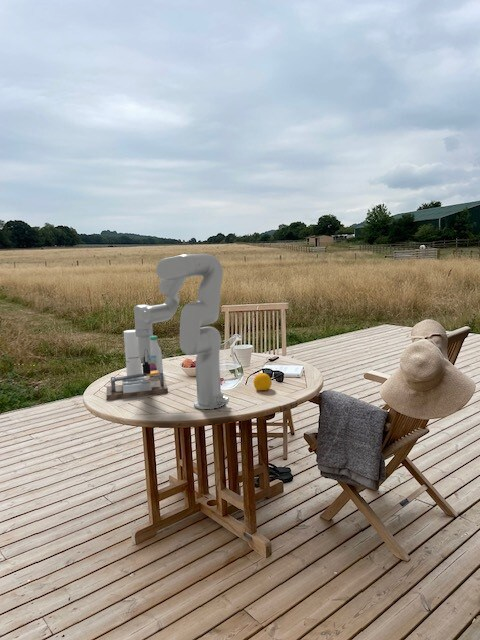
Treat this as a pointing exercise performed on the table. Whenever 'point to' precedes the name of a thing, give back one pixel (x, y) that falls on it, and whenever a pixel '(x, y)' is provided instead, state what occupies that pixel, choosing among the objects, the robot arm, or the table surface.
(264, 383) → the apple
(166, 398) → the table surface
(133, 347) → the cylindrical container
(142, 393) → the mounting board
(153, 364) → the milk bottle
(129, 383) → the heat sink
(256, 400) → the table surface
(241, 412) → the table surface
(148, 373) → the lever
